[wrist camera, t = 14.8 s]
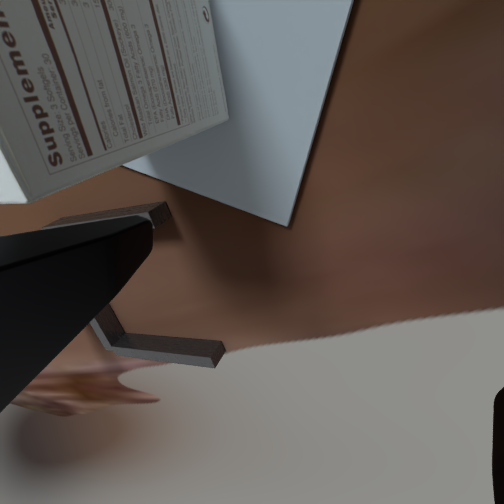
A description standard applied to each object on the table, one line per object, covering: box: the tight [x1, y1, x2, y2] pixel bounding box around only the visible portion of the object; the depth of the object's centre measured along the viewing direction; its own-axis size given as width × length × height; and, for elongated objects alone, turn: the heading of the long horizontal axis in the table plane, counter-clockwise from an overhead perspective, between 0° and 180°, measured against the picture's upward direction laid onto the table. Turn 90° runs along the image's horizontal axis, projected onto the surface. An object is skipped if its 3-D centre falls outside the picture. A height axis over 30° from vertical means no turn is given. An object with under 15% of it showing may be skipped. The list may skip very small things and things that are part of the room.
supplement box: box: [0, 0, 229, 204], centre depth 13 cm, size 7×7×13 cm
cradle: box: [42, 201, 225, 368], centre depth 26 cm, size 18×14×12 cm
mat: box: [123, 0, 354, 227], centre depth 18 cm, size 14×14×1 cm
